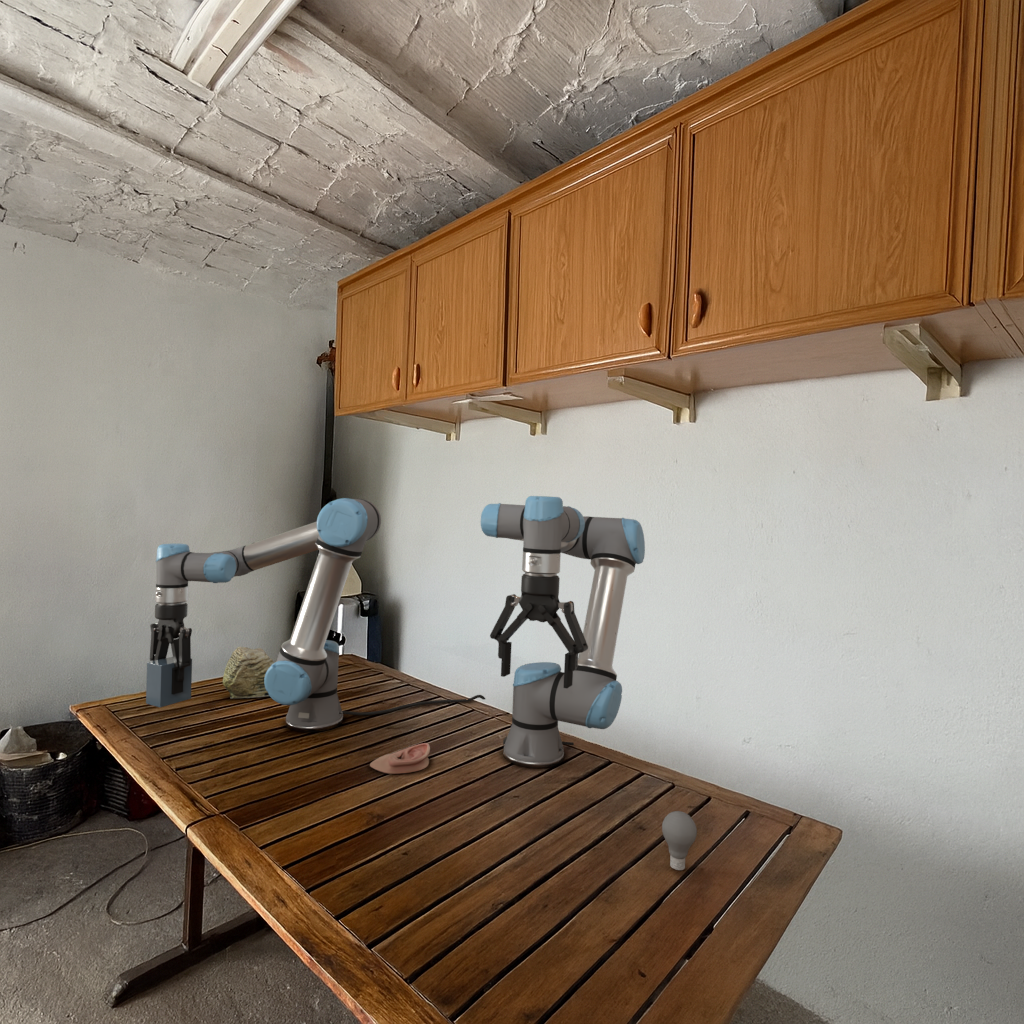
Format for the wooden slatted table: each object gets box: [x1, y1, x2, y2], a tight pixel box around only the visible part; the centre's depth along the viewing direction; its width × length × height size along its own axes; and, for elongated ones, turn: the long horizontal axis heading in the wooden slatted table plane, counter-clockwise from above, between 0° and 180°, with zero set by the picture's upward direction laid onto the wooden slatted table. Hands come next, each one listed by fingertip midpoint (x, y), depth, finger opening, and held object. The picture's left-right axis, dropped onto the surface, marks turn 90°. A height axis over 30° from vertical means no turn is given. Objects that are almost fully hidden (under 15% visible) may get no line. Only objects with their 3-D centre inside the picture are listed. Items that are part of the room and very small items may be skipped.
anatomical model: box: [369, 742, 431, 775], centre depth 151 cm, size 13×4×12 cm
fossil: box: [222, 646, 275, 699], centre depth 198 cm, size 9×18×15 cm, turn 132°
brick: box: [145, 656, 193, 708], centre depth 166 cm, size 9×6×11 cm, turn 153°
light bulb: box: [661, 810, 698, 871], centre depth 113 cm, size 6×6×10 cm
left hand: (169, 690), depth 166 cm, fingers closed on brick, 6 cm apart
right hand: (535, 680), depth 126 cm, fingers open, 13 cm apart
